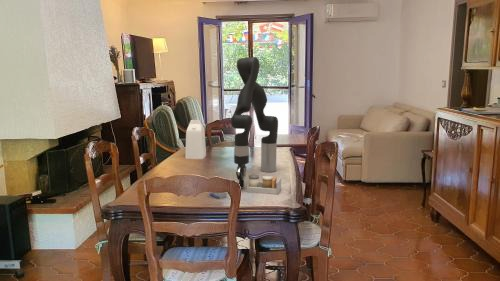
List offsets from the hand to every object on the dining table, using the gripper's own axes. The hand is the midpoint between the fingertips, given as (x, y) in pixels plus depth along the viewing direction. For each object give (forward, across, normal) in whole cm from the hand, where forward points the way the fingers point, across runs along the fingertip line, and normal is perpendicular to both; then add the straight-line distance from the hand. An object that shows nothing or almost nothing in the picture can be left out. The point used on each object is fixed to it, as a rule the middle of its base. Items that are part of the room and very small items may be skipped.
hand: (241, 186), depth 205 cm
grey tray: (+1, 0, +12) cm, 12 cm away
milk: (+1, -65, -49) cm, 81 cm away
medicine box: (+1, +15, -8) cm, 17 cm away
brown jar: (+1, 0, +14) cm, 14 cm away
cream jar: (+1, 0, +6) cm, 7 cm away
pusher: (0, 0, +17) cm, 17 cm away
